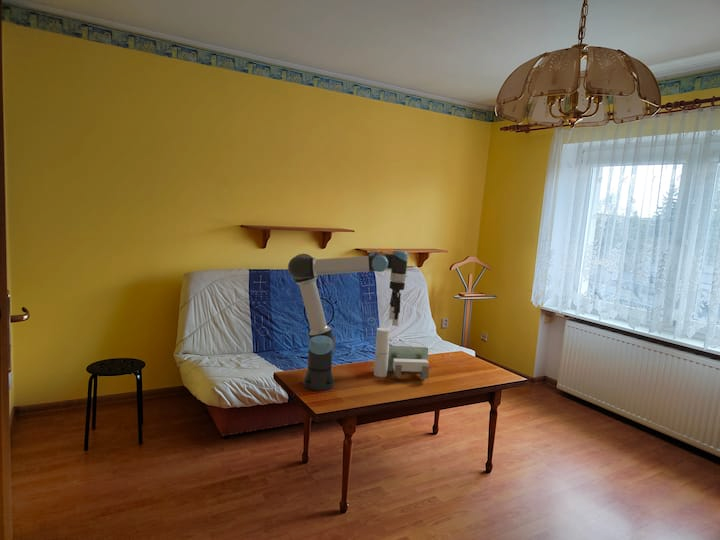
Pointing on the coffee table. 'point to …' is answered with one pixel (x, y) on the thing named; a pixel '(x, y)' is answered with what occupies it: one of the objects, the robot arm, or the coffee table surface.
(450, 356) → the coffee table surface
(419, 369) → the rail
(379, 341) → the cylindrical container
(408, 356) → the cup bracket
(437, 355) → the coffee table surface
